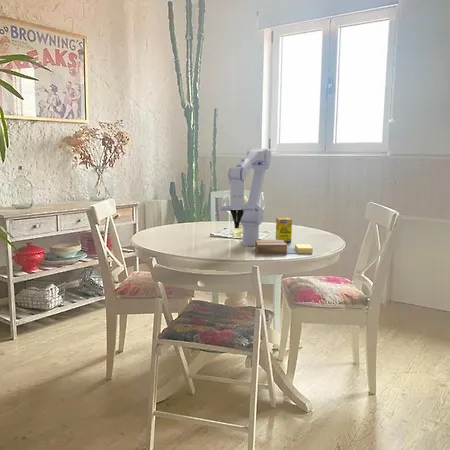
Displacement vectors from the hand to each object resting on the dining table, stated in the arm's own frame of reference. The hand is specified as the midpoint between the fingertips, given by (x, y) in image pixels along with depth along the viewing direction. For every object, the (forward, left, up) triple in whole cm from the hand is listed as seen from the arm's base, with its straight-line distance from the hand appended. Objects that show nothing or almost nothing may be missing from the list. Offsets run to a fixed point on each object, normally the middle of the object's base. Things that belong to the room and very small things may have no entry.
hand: (236, 228), depth 203 cm
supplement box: (-20, +23, -10) cm, 32 cm away
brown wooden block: (+1, +14, -10) cm, 17 cm away
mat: (0, +26, -10) cm, 28 cm away
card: (+1, +28, -8) cm, 29 cm away
